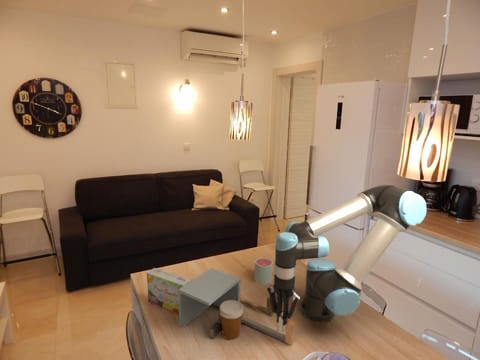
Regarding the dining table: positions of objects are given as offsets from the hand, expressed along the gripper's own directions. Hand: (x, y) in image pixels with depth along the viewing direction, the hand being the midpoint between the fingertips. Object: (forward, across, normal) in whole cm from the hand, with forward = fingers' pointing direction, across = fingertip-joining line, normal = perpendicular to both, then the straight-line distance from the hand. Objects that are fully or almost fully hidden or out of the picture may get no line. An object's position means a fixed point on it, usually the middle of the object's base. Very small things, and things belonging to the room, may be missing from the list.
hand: (281, 330), depth 118 cm
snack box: (+4, +49, +10) cm, 50 cm away
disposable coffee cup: (+4, +17, +9) cm, 20 cm away
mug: (+4, +27, -36) cm, 45 cm away
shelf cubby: (+4, +29, +7) cm, 30 cm away
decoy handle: (+4, +20, -11) cm, 23 cm away
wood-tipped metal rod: (+3, +9, +7) cm, 12 cm away
